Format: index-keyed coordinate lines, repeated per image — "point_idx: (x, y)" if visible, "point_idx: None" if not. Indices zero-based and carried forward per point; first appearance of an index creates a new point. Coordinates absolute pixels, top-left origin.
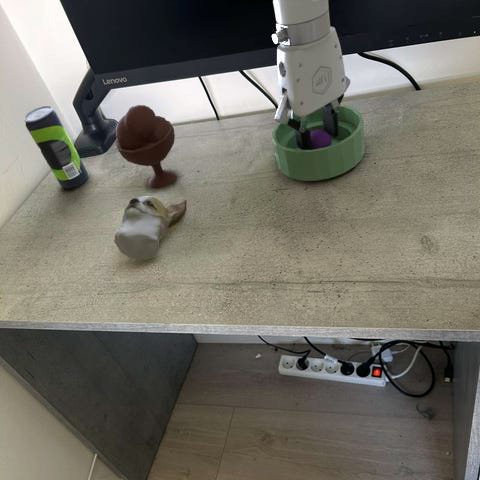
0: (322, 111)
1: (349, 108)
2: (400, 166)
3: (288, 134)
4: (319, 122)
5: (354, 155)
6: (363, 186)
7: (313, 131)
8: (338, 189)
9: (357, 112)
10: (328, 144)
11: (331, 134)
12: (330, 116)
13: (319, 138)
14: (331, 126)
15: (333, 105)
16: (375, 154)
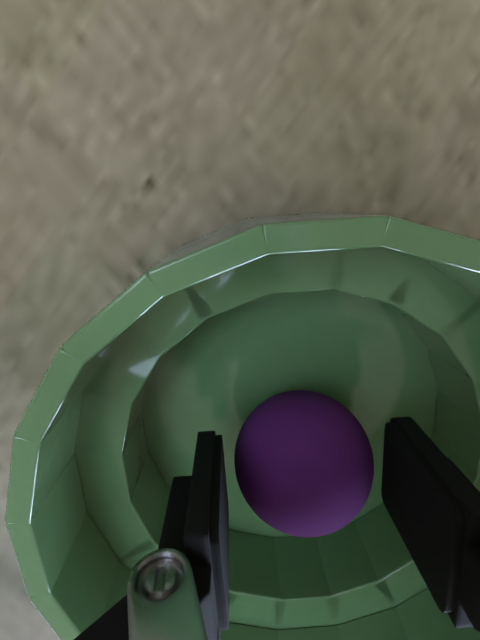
0: (220, 637)
1: (35, 554)
2: (72, 47)
3: (349, 614)
4: None
5: (247, 220)
6: (314, 57)
7: (323, 529)
8: (405, 143)
9: (23, 476)
10: (288, 405)
11: (223, 462)
12: (221, 553)
13: (336, 455)
14: (222, 493)
15: (193, 628)
16: (99, 246)
